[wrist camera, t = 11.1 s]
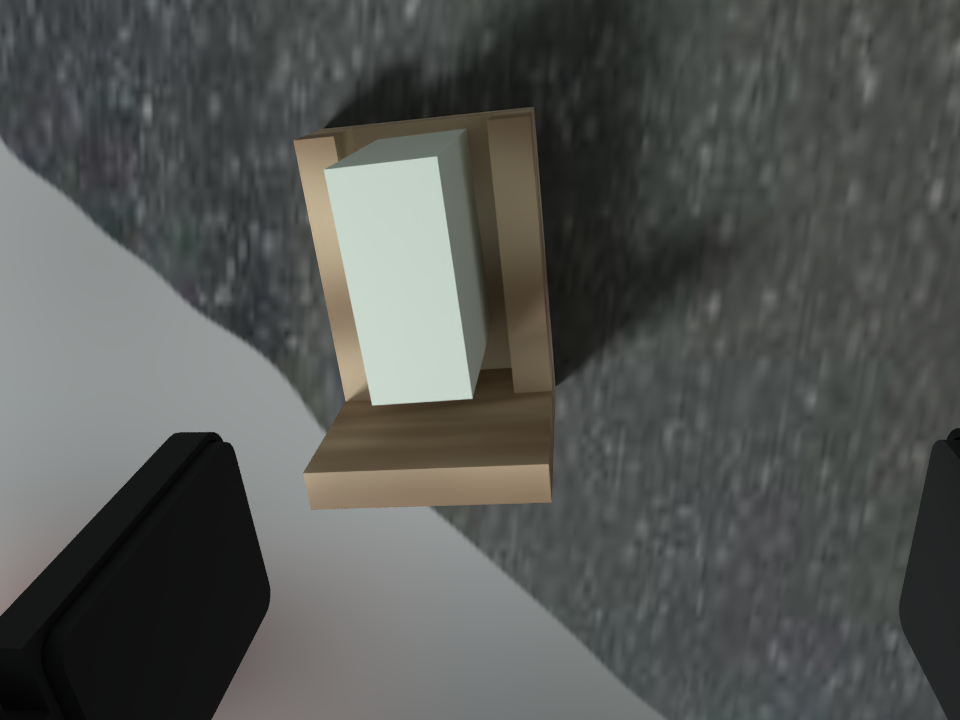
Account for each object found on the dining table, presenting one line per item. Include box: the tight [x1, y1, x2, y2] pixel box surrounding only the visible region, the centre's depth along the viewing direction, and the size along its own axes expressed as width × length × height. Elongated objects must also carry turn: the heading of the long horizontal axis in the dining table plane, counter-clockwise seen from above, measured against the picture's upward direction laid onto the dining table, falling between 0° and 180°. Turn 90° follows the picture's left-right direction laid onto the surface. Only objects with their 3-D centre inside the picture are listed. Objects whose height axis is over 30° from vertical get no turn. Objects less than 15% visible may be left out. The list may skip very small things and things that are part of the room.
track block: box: [294, 107, 556, 510], centre depth 27 cm, size 12×8×9 cm
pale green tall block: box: [324, 129, 492, 406], centre depth 27 cm, size 8×4×7 cm, turn 7°
